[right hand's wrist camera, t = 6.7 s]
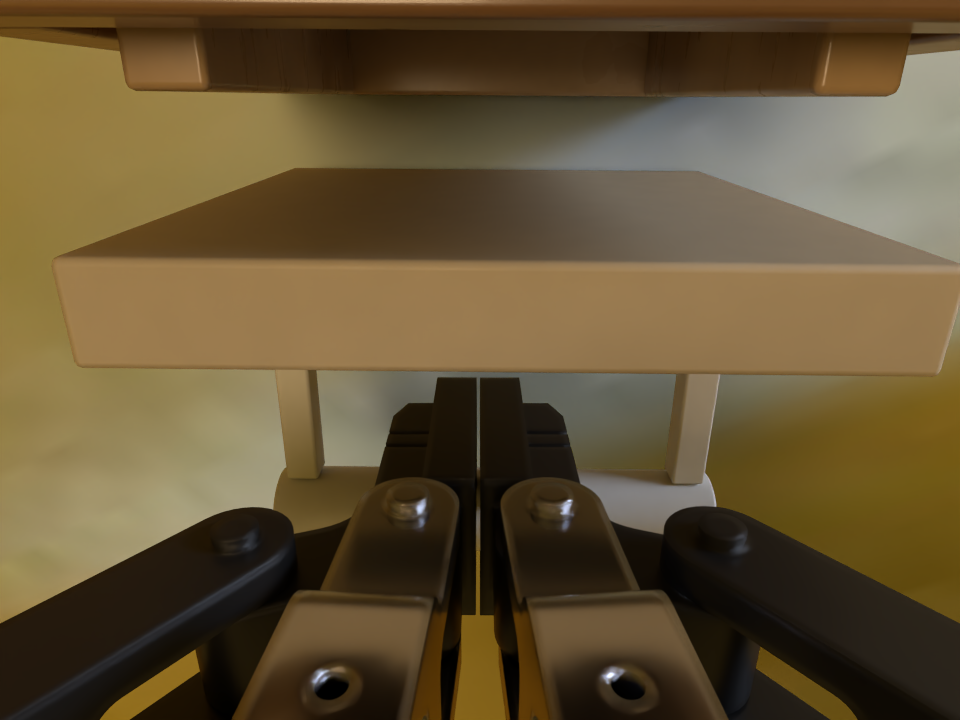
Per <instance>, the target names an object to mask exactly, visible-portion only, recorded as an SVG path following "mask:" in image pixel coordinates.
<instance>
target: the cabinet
mask: <svg viewBox="0 0 960 720" xmlns="http://www.w3.org/2000/svg"><path fill="white" fill-rule="evenodd" d="M116 28H256V29H398V30H540V31H682V32H825V33H911V38H910V42H909V46H908V51H907V55H915V54H925V53H935V52H945V51H955V50H960V0H0V36H2V37H10V38H18V39H26V40H34V41H42V42H50V43H58V44H66V45H74V46H82V47H90V48H98V49H106V50H114V51H120V47H119V42H118V36H117V31H116Z"/></svg>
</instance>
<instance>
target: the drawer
mask: <svg viewBox="0 0 960 720" xmlns="http://www.w3.org/2000/svg"><path fill="white" fill-rule="evenodd" d="M116 31H117V36H118V42H119V47H120V53H121V59H122V64H123V70H124V75H125V81H126V83H127V85H128V87H129V88H131V89H133V90H136V91H181V92H237V93H294V94H382V95H512V96H642V97H854V96H889V95H891V94H894V93H895V92H896V91H897V90H898V88H899V86H900V82H901V77H902V73H903V68H904V64H905V60H906V55H907V51H908V46H909V42H910V38H911V33H825V32H682V31H540V30H398V29H256V28H116ZM52 270H53V274H54V278H55V282H56V287H57V291H58V295H59V299H60V303H61V307H62V311H63V316H64V320H65V324H66V328H67V332H68V336H69V340H70V345H71V349H72V353H73V357H74V361H75V363H76V364H77V366H79V367H82V368H170V369H265V370H275V374H276V382H277V391H278V399H279V408H280V416H281V425H282V433H283V441H284V450H285V458H286V468H285V469H284V470H283V472H282V473H281V475H280V478H279V481H278V484H277V488H276V492H275V498H274V508H273V510H275V511H278V512H280V513H282V514H284V515H285V516H286V517H288V518H289V520H290V521H291V522H292V525H293V529H294V534H295V533H300V532H305V531H310V530H315V529H320V528H324V527H328V526H331V525H334V524H337V523H340V522H342V521H344V520H346V519H348V518H350V517H352V515H353V512H354V510H355V508H356V505H357V503H358V501H359V500H360V498H361V497H362V496H363V494H364V493H365V492H367V491H368V490H369V489H371V488H373V487H374V486H375V483H376V479H377V475H378V472H379V468H380V467H365V466H324V463H325V459H324V448H323V438H322V427H321V416H320V406H319V395H318V384H317V374H316V370H361V371H457V372H553V373H648V374H677V376H676V384H675V391H674V399H673V407H672V415H671V422H670V430H669V438H668V445H667V453H666V461H665V469H666V470H628V469H577V472H578V476H579V480H580V484H582V485H584V486H586V487H587V488H589V489H591V490H592V491H593V492H595V493H596V494H597V496H598V497H599V498H600V500H601V501H602V503H603V505H604V508H605V510H606V512H607V515H608V517H609V519H610V520H611V521H613V522H615V523H617V524H620V525H623V526H626V527H630V528H634V529H639V530H644V531H649V532H654V533H659V534H663V532H664V525H665V522H666V520H667V519H668V518H669V517H670V516H671V515H672V514H673V513H675V512H677V511H679V510H681V509H685V508H688V507H695V506H713V507H716V499H715V494H714V491H713V487H712V484H711V482H710V479H709V478H708V476H707V475H706V474H705V468H706V462H707V455H708V449H709V443H710V436H711V430H712V423H713V417H714V411H715V404H716V398H717V391H718V385H719V379H720V374H744V375H840V376H935V375H937V374H938V373H939V372H940V371H941V367H942V364H943V361H944V357H945V354H946V350H947V347H948V344H949V340H950V337H951V333H952V330H953V326H954V323H955V320H956V316H957V313H958V309H959V306H960V264H959V263H956V262H953V261H950V260H948V259H945V258H942V257H939V256H936V255H933V254H931V253H928V252H925V251H922V250H919V249H916V248H914V247H911V246H908V245H905V244H902V243H899V242H897V241H894V240H891V239H888V238H885V237H882V236H880V235H877V234H874V233H871V232H868V231H865V230H863V229H860V228H857V227H854V226H851V225H848V224H846V223H843V222H840V221H837V220H834V219H831V218H829V217H826V216H823V215H820V214H817V213H814V212H812V211H809V210H806V209H803V208H800V207H797V206H795V205H792V204H789V203H786V202H783V201H780V200H778V199H775V198H772V197H769V196H766V195H763V194H761V193H758V192H755V191H752V190H749V189H746V188H744V187H741V186H738V185H735V184H732V183H729V182H727V181H724V180H721V179H718V178H715V177H712V176H710V175H707V174H704V173H701V172H691V171H573V170H454V169H335V168H294V169H292V170H289V171H286V172H284V173H281V174H278V175H275V176H273V177H270V178H267V179H265V180H262V181H259V182H257V183H254V184H251V185H249V186H246V187H243V188H240V189H238V190H235V191H232V192H230V193H227V194H224V195H222V196H219V197H216V198H214V199H211V200H208V201H205V202H203V203H200V204H197V205H195V206H192V207H189V208H187V209H184V210H181V211H179V212H176V213H173V214H170V215H168V216H165V217H162V218H160V219H157V220H154V221H152V222H149V223H146V224H144V225H141V226H138V227H135V228H133V229H130V230H127V231H125V232H122V233H119V234H117V235H114V236H111V237H109V238H106V239H103V240H100V241H98V242H95V243H92V244H90V245H87V246H84V247H82V248H79V249H76V250H74V251H71V252H68V253H65V254H63V255H60V256H58V257H56V258H54V259H53V261H52ZM476 551H480V468H477V510H476Z"/></svg>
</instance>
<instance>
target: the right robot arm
mask: <svg viewBox="0 0 960 720" xmlns="http://www.w3.org/2000/svg"><path fill="white" fill-rule="evenodd" d="M389 432H390V433H389V435H388V438H387V442H386V447H385V450H384V453H383V457H382V461H381V464H380V468H379V472H378V475H377V479H376V483H375V486H374V487H373V488H371V489H369V490H368V491H367V492H365V493H364V494H363V496H362V497H361V498H360V500H359V501H358V503H357V505H356V508H355V510H354V512H353V515H352V517H350V518H348V519H346V520H344V521H342V522H340V523H337V524H334V525H331V526H328V527H324V528H320V529H315V530H310V531H305V532H300V533H295V534H294V529H293V525H292V522H291V521H290V520H289V518H288V517H286V516H285V515H284V514H282V513H280V512H278V511H275V510H272V509H268V508H260V507H249V508H239V509H233V510H229V511H225V512H222V513H219V514H216V515H214V516H211V517H209V518H207V519H205V520H203V521H201V522H199V523H197V524H195V525H193V526H191V527H189V528H187V529H185V530H183V531H181V532H179V533H177V534H175V535H173V536H171V537H169V538H167V539H166V540H164V541H162V542H160V543H158V544H156V545H154V546H152V547H150V548H148V549H146V550H144V551H142V552H140V553H138V554H136V555H134V556H132V557H130V558H128V559H126V560H124V561H122V562H120V563H118V564H116V565H114V566H112V567H111V568H109V569H107V570H105V571H103V572H101V573H99V574H97V575H95V576H93V577H91V578H89V579H87V580H85V581H83V582H81V583H79V584H77V585H75V586H73V587H71V588H69V589H67V590H65V591H63V592H61V593H59V594H57V595H55V596H54V597H52V598H50V599H48V600H46V601H44V602H42V603H40V604H38V605H36V606H34V607H32V608H30V609H28V610H26V611H24V612H22V613H20V614H18V615H16V616H14V617H12V618H10V619H8V620H6V621H4V622H2V623H0V720H100V718H101V717H102V716H103V714H104V713H105V712H106V711H107V710H108V709H109V708H110V707H111V706H112V705H113V704H114V703H115V702H116V701H118V700H119V699H120V698H122V697H123V696H125V695H126V694H128V693H129V692H131V691H132V690H134V689H135V688H137V687H139V686H140V685H142V684H143V683H145V682H146V681H148V680H149V679H151V678H152V677H154V676H155V675H157V674H158V673H160V672H161V671H163V670H164V669H166V668H167V667H169V666H170V665H172V664H173V663H175V662H177V661H178V660H180V659H181V658H183V657H184V656H186V655H187V654H189V653H190V652H192V651H193V650H196V655H197V659H198V664H199V669H200V672H198V673H197V674H196V675H194V676H193V677H191V678H190V679H188V680H187V681H185V682H184V683H182V684H181V685H180V686H178V687H177V688H175V689H174V690H172V691H171V692H169V693H168V694H166V695H165V696H164V697H162V698H161V699H159V700H158V701H156V702H155V703H153V704H152V705H151V706H149V707H148V708H146V709H145V710H143V711H142V712H140V713H139V714H137V715H136V716H135V717H133V718H132V719H130V720H454V716H455V709H456V701H457V693H458V685H459V677H460V669H461V620H462V615H476V510H477V377H438V378H437V384H436V391H435V397H434V403H408V404H407V405H406V406H405V407H404V408H402V409H401V410H400V411H399V412H398V413H397V414H395V415H394V416H393V420H392V424H391V427H390V431H389ZM480 615H494V633H495V638H496V641H497V643H498V645H499V669H500V677H501V685H502V693H503V701H504V709H505V716H506V720H830V719H828V718H827V717H825V716H824V715H823V714H821V713H820V712H818V711H817V710H815V709H814V708H812V707H811V706H809V705H808V704H807V703H805V702H804V701H802V700H801V699H799V698H798V697H796V696H795V695H793V694H792V693H791V692H789V691H788V690H786V689H785V688H783V687H782V686H780V685H779V684H778V683H776V682H775V681H773V680H772V679H770V678H769V677H767V676H766V675H764V674H763V673H762V672H760V671H759V670H757V669H756V664H757V659H758V654H759V649H760V646H761V647H762V648H764V649H765V650H767V651H768V652H770V653H771V654H773V655H774V656H776V657H777V658H779V659H780V660H782V661H783V662H785V663H787V664H788V665H790V666H791V667H793V668H794V669H796V670H797V671H799V672H800V673H802V674H803V675H805V676H806V677H808V678H809V679H811V680H812V681H814V682H815V683H817V684H818V685H820V686H821V687H823V688H824V689H826V690H828V691H829V692H831V693H832V694H834V695H835V696H836V697H838V698H839V699H840V700H842V701H843V702H844V703H845V704H846V705H847V706H848V707H849V708H850V709H851V710H852V712H853V713H854V714H855V716H856V717H857V719H858V720H960V623H958V622H956V621H954V620H952V619H950V618H948V617H946V616H944V615H942V614H940V613H938V612H936V611H934V610H932V609H930V608H928V607H926V606H924V605H922V604H920V603H918V602H916V601H914V600H912V599H910V598H908V597H906V596H904V595H903V594H901V593H899V592H897V591H895V590H893V589H891V588H889V587H887V586H885V585H883V584H881V583H879V582H877V581H875V580H873V579H871V578H869V577H867V576H865V575H863V574H861V573H859V572H857V571H855V570H853V569H851V568H849V567H848V566H846V565H844V564H842V563H840V562H838V561H836V560H834V559H832V558H830V557H828V556H826V555H824V554H822V553H820V552H818V551H816V550H814V549H812V548H810V547H808V546H806V545H804V544H802V543H800V542H798V541H796V540H794V539H792V538H791V537H789V536H787V535H785V534H783V533H781V532H779V531H777V530H775V529H773V528H771V527H769V526H767V525H765V524H763V523H761V522H759V521H757V520H755V519H753V518H751V517H749V516H747V515H745V514H742V513H739V512H736V511H733V510H730V509H726V508H720V507H713V506H695V507H688V508H685V509H681V510H679V511H677V512H675V513H673V514H672V515H671V516H670V517H669V518H668V519H667V520H666V522H665V525H664V532H663V534H659V533H654V532H649V531H644V530H639V529H634V528H630V527H626V526H623V525H620V524H617V523H615V522H613V521H611V520H610V519H609V517H608V515H607V512H606V510H605V508H604V505H603V503H602V501H601V500H600V498H599V497H598V496H597V494H596V493H595V492H593V491H592V490H591V489H589V488H587V487H586V486H584V485H582V484H580V480H579V476H578V472H577V469H576V465H575V461H574V457H573V453H572V449H571V447H570V442H569V438H568V434H567V430H566V426H565V423H564V419H563V416H562V415H561V414H560V413H559V412H557V411H556V410H555V409H554V408H553V407H552V406H550V405H549V404H548V403H523V402H522V395H521V388H520V381H519V378H480Z"/></svg>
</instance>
